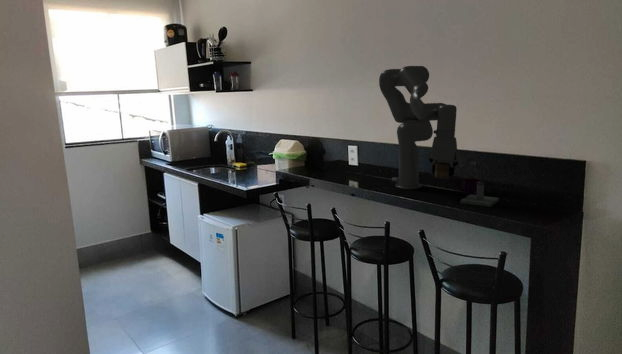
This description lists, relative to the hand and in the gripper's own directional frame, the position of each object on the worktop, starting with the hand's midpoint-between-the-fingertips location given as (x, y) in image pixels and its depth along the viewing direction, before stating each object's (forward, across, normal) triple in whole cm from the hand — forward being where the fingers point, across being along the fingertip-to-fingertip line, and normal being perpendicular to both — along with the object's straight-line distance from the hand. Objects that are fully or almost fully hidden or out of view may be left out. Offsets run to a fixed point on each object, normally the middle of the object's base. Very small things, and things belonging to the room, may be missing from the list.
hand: (442, 174), depth 192 cm
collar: (+1, 0, 0) cm, 1 cm away
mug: (+10, +8, +11) cm, 17 cm away
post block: (+9, +17, 0) cm, 19 cm away
